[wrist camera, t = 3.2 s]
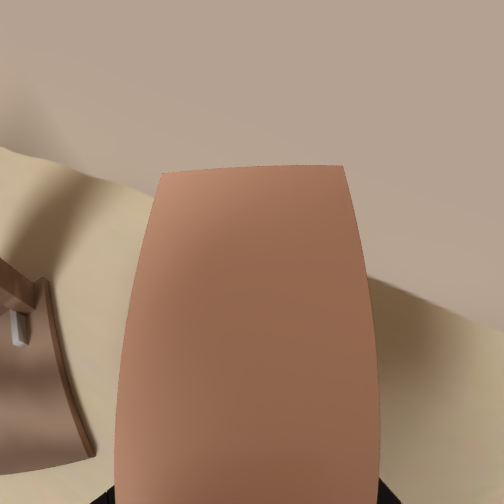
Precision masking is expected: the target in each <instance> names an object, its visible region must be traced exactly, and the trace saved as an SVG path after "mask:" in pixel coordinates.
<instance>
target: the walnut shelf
mask: <svg viewBox="0 0 504 504" xmlns="http://www.w3.org/2000/svg"><path fill="white" fill-rule="evenodd" d="M93 457H95V455H94V453H93V450H92V448H91V446H90V443H89V441H88V438H87V436H86V433H85V431H84V428H83V425H82V423H81V420H80V417H79V414H78V411H77V409H76V406H75V402H74V399H73V396H72V393H71V390H70V386H69V383H68V379H67V376H66V372H65V368H64V364H63V360H62V356H61V352H60V347H59V343H58V338H57V333H56V327H55V322H54V316H53V310H52V303H51V296H50V287H49V281H48V280H46V279H45V278H44V277H42V278H41V279H39V280H38V281H36V282H34V283H32V282H30V281H29V280H28V279H26V278H25V277H24V276H22V275H21V274H20V273H19V272H17V271H16V270H15V269H14V268H12V267H11V266H10V265H9V264H7V263H6V262H5V261H4V260H2V259H1V258H0V475H5V474H13V473H21V472H28V471H34V470H40V469H45V468H50V467H55V466H60V465H65V464H69V463H73V462H77V461H81V460H85V459H89V458H93Z"/></svg>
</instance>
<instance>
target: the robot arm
mask: <svg viewBox="0 0 504 504" xmlns="http://www.w3.org/2000/svg"><path fill="white" fill-rule="evenodd" d="M90 504H115V485H114V486H112V487H111V488H110V489H109V490H107V492H105V493H104V494H102V495H101V496H100V497H98V498H97V499H96V500H94V501H93V502H91V503H90ZM377 504H401V501H400V500H399V499H398V498H397V497H396V496H395V495H394V493H393V492H392V491H391V490H390V489H389V488H388V487H387V486H386V485H385V483H384V482H383V481H382V480H381V479H380V478H379V481H378V494H377Z"/></svg>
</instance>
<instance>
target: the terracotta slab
mask: <svg viewBox="0 0 504 504" xmlns="http://www.w3.org/2000/svg"><path fill="white" fill-rule="evenodd" d="M379 460H380V403H379V381H378V366H377V353H376V342H375V333H374V324H373V316H372V308H371V300H370V293H369V287H368V280H367V274H366V268H365V263H364V257H363V252H362V246H361V241H360V237H359V232H358V227H357V222H356V218H355V213H354V209H353V204H352V200H351V196H350V192H349V188H348V184H347V180H346V176H345V172H344V169H343V166H326V165H325V166H324V165H322V166H321V165H319V166H318V165H305V166H304V165H300V166H299V165H295V166H294V165H292V166H257V167H256V166H255V167H235V168H218V169H204V170H192V171H181V172H172V173H162V175H161V178H160V181H159V185H158V188H157V191H156V195H155V198H154V202H153V205H152V209H151V212H150V216H149V220H148V224H147V227H146V231H145V235H144V239H143V243H142V248H141V252H140V256H139V261H138V265H137V270H136V274H135V279H134V284H133V289H132V294H131V299H130V305H129V310H128V316H127V322H126V329H125V335H124V342H123V349H122V357H121V365H120V374H119V383H118V394H117V407H116V423H115V451H114V478H115V504H377V494H378V481H379Z"/></svg>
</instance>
